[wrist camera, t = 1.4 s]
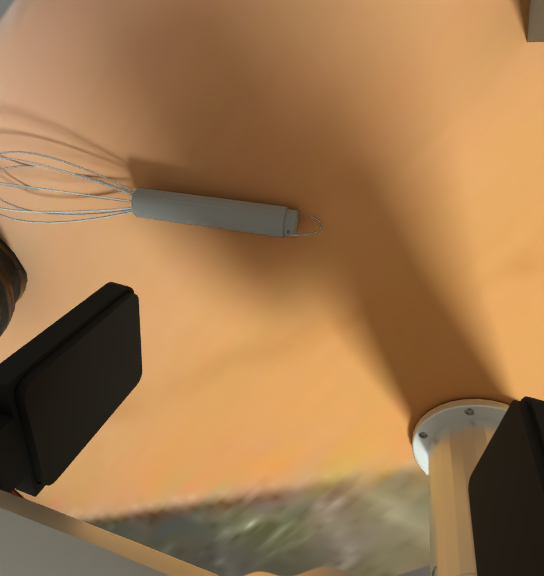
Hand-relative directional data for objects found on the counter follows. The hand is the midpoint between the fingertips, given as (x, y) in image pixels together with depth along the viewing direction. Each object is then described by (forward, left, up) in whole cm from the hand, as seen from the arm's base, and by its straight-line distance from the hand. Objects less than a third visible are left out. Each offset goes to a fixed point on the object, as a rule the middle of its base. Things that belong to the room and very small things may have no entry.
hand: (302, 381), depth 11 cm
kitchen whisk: (+3, +22, -28) cm, 35 cm away
